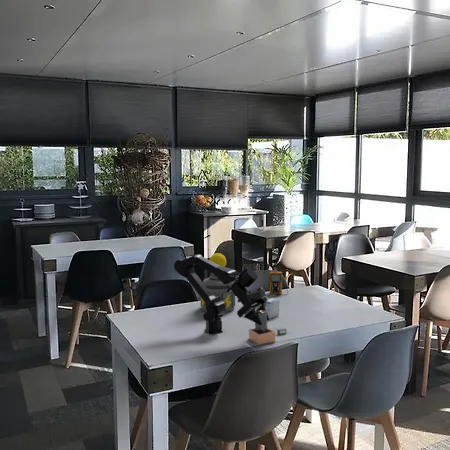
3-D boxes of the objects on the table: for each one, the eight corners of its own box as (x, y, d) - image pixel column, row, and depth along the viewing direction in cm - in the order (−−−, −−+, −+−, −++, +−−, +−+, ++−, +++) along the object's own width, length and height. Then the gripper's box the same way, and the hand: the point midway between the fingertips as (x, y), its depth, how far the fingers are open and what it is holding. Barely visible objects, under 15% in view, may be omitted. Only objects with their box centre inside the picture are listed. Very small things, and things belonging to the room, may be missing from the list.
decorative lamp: (242, 310, 261) (242, 253, 258) (212, 315, 250) (212, 257, 247) (222, 302, 276) (222, 249, 273) (193, 307, 265) (193, 252, 262)
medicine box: (271, 314, 252) (272, 297, 251) (279, 316, 249) (279, 299, 248) (263, 317, 246) (263, 300, 245) (270, 319, 243) (270, 302, 242)
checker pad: (273, 337, 216) (273, 331, 216) (261, 330, 225) (261, 325, 225) (292, 333, 221) (292, 328, 221) (279, 327, 230) (279, 322, 230)
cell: (256, 341, 209) (254, 312, 208) (255, 337, 214) (254, 309, 213) (268, 341, 209) (266, 312, 208) (267, 337, 214) (266, 309, 213)
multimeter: (262, 296, 290) (262, 262, 288) (263, 292, 300) (264, 260, 298) (287, 297, 287) (287, 263, 285) (288, 293, 297) (288, 260, 295)
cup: (258, 345, 206) (258, 334, 206) (248, 339, 213) (248, 329, 213) (275, 342, 210) (275, 331, 209) (265, 336, 217) (265, 326, 217)
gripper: (243, 286, 203) (267, 316, 199) (263, 278, 219) (286, 306, 214) (227, 302, 208) (250, 332, 203) (248, 293, 224) (269, 321, 219)
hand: (265, 322), depth 210 cm, fingers open, 7 cm apart
